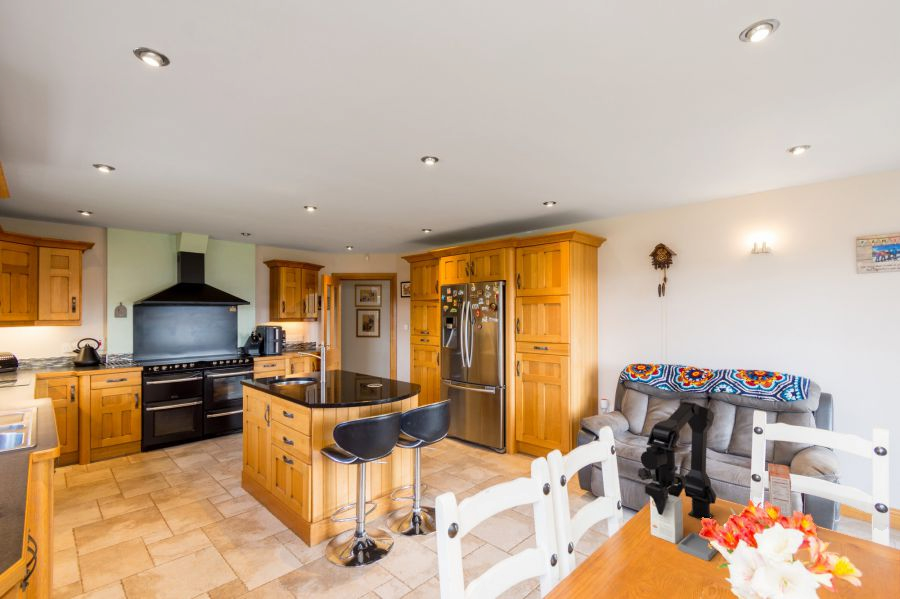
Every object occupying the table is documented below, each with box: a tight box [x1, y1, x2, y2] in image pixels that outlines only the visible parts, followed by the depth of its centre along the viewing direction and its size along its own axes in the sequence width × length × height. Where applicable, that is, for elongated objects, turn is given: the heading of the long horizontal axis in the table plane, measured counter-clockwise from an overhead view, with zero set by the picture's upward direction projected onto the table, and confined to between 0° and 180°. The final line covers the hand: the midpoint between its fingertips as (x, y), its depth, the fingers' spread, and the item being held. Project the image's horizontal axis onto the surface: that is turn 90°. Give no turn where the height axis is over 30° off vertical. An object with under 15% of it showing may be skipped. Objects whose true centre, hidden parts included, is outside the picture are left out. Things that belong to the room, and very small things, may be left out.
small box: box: [649, 493, 684, 545], centre depth 143 cm, size 8×6×13 cm
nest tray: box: [677, 531, 719, 562], centre depth 135 cm, size 11×9×2 cm
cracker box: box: [767, 462, 793, 517], centre depth 146 cm, size 14×6×21 cm, turn 144°
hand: (666, 510), depth 143 cm, fingers open, 9 cm apart
